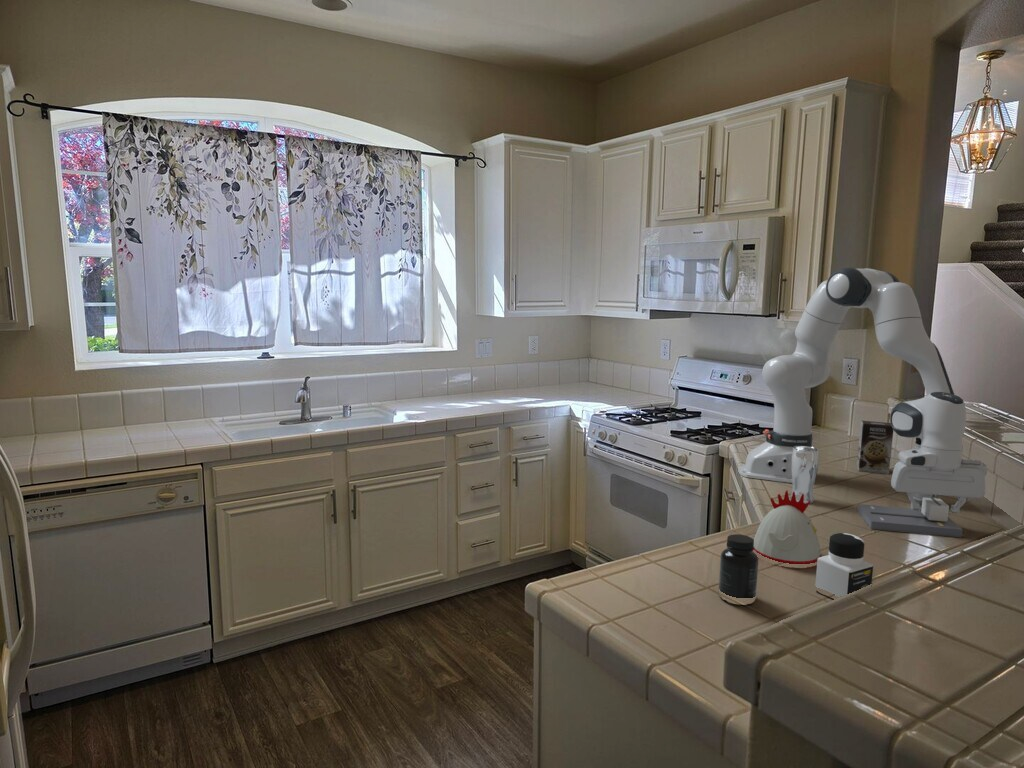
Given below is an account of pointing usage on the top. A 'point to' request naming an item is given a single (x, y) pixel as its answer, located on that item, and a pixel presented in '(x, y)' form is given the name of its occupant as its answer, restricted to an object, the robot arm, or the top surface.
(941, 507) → the fader knob
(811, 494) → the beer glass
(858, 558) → the medicine bottle
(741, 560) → the supplement bottle
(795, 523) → the kitchen timer
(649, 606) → the top surface
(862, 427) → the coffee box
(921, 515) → the fader panel
